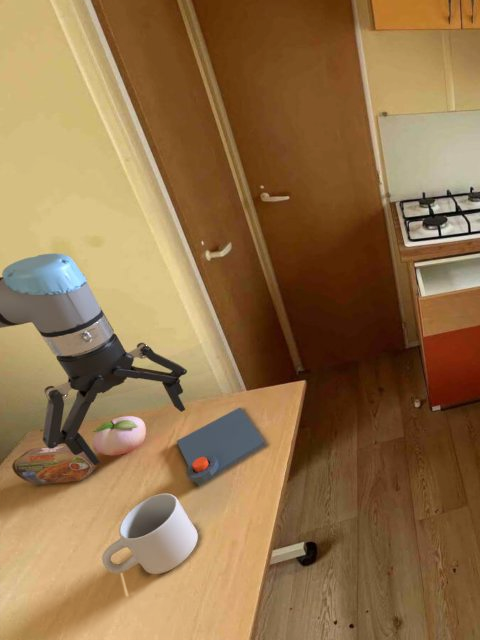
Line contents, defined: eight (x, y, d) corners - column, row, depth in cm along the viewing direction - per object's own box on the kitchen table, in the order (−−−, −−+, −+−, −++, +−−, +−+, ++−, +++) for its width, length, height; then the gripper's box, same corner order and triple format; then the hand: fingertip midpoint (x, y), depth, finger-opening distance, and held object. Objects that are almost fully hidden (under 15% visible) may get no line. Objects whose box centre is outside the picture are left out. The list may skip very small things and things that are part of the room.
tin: (23, 485, 92) (1, 460, 88) (36, 472, 95) (15, 447, 91) (97, 479, 93) (79, 454, 89) (107, 467, 96) (90, 441, 92)
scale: (195, 491, 91) (190, 482, 89) (174, 446, 101) (170, 438, 99) (267, 447, 101) (263, 438, 99) (241, 410, 111) (238, 402, 109)
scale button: (197, 474, 91) (194, 469, 91) (193, 467, 93) (190, 462, 92) (210, 466, 93) (208, 461, 92) (206, 459, 95) (204, 454, 94)
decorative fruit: (160, 431, 105) (144, 402, 100) (145, 459, 98) (127, 429, 93) (116, 439, 102) (97, 410, 98) (96, 469, 95) (75, 439, 91)
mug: (190, 517, 86) (170, 483, 81) (204, 546, 81) (184, 512, 76) (115, 568, 78) (87, 533, 73) (126, 603, 73) (97, 569, 68)
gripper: (-19, 403, 58) (59, 498, 68) (181, 312, 77) (219, 396, 87) (-34, 383, 61) (42, 476, 71) (161, 300, 80) (200, 383, 90)
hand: (140, 432), depth 79 cm, fingers open, 13 cm apart
